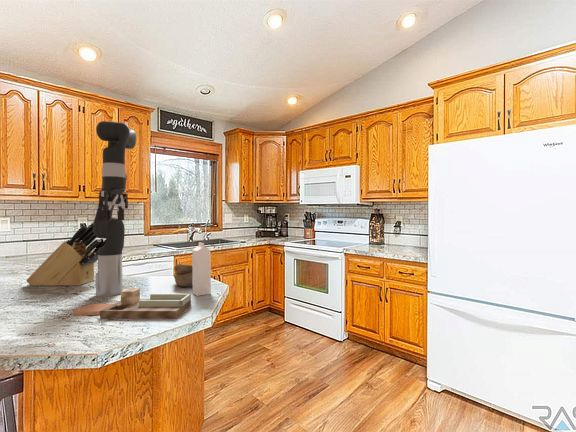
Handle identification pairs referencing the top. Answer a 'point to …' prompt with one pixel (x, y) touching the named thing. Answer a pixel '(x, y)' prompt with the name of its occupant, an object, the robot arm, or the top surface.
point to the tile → (91, 309)
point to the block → (130, 296)
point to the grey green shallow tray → (165, 300)
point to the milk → (201, 270)
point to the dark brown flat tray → (142, 311)
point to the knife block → (70, 261)
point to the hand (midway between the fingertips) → (114, 220)
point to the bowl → (183, 275)
